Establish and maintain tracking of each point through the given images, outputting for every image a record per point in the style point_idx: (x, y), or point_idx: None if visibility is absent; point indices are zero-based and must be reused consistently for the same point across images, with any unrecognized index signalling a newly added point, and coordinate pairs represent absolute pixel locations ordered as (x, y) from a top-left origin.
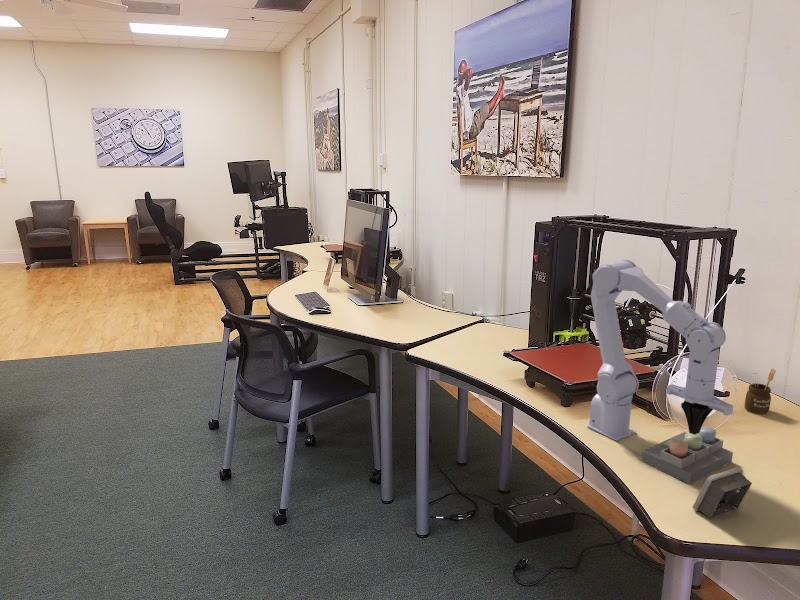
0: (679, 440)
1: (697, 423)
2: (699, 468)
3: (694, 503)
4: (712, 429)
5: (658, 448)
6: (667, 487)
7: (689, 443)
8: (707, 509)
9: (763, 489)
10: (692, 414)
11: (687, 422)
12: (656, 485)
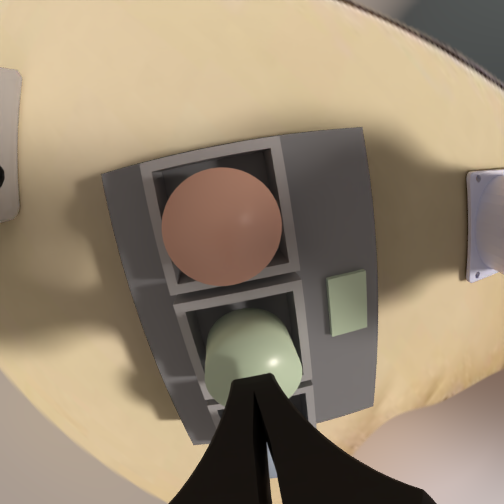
0: (255, 266)
1: (207, 449)
2: (123, 251)
3: (4, 68)
4: (269, 475)
5: (347, 218)
6: (139, 75)
7: (236, 325)
8: None
9: (48, 368)
10: (254, 499)
11: (299, 412)
12: (169, 47)
